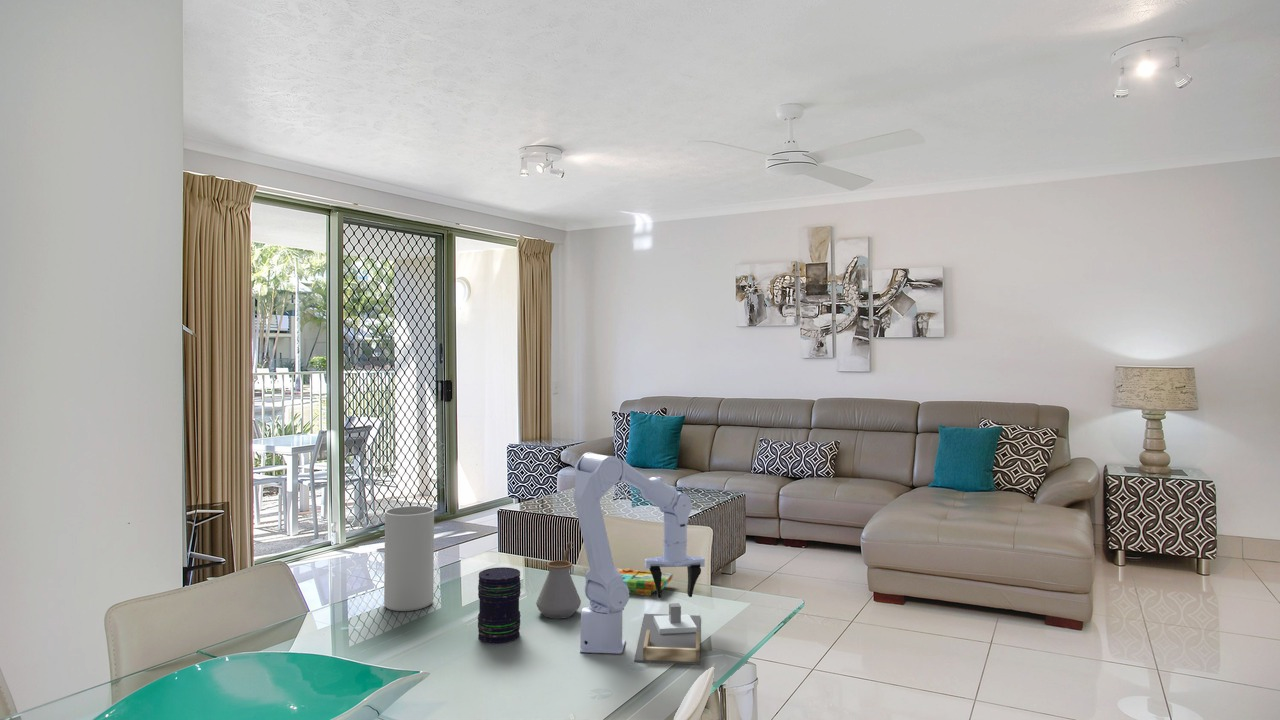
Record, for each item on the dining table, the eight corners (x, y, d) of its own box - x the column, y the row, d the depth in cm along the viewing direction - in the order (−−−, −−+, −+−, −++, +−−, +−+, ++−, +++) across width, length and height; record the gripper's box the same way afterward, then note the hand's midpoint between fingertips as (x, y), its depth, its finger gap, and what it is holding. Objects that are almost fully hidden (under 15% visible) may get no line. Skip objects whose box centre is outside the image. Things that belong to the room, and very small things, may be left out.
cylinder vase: (374, 610, 191) (375, 513, 191) (401, 595, 203) (401, 504, 203) (417, 614, 188) (418, 516, 188) (442, 599, 200) (442, 507, 200)
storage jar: (515, 626, 180) (516, 565, 180) (524, 641, 170) (524, 576, 171) (474, 631, 176) (475, 569, 176) (481, 646, 167) (481, 580, 167)
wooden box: (642, 661, 159) (643, 647, 159) (646, 642, 170) (646, 629, 170) (699, 663, 158) (699, 650, 158) (699, 644, 169) (699, 631, 169)
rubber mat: (634, 661, 159) (634, 660, 159) (644, 615, 189) (644, 613, 189) (699, 664, 158) (699, 662, 158) (699, 617, 187) (699, 615, 187)
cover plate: (659, 633, 175) (659, 611, 175) (653, 620, 183) (653, 599, 183) (696, 632, 176) (696, 610, 176) (688, 619, 185) (689, 598, 185)
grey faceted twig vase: (576, 622, 183) (576, 562, 183) (531, 620, 184) (531, 560, 184) (590, 595, 204) (591, 541, 204) (550, 593, 205) (550, 540, 206)
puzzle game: (607, 565, 219) (672, 571, 214) (607, 580, 219) (672, 587, 213) (593, 575, 208) (662, 582, 202) (593, 592, 208) (662, 599, 202)
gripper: (648, 545, 175) (647, 602, 175) (707, 544, 177) (707, 600, 177) (643, 538, 182) (643, 593, 182) (701, 537, 184) (700, 591, 184)
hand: (674, 596), depth 180 cm, fingers open, 7 cm apart
